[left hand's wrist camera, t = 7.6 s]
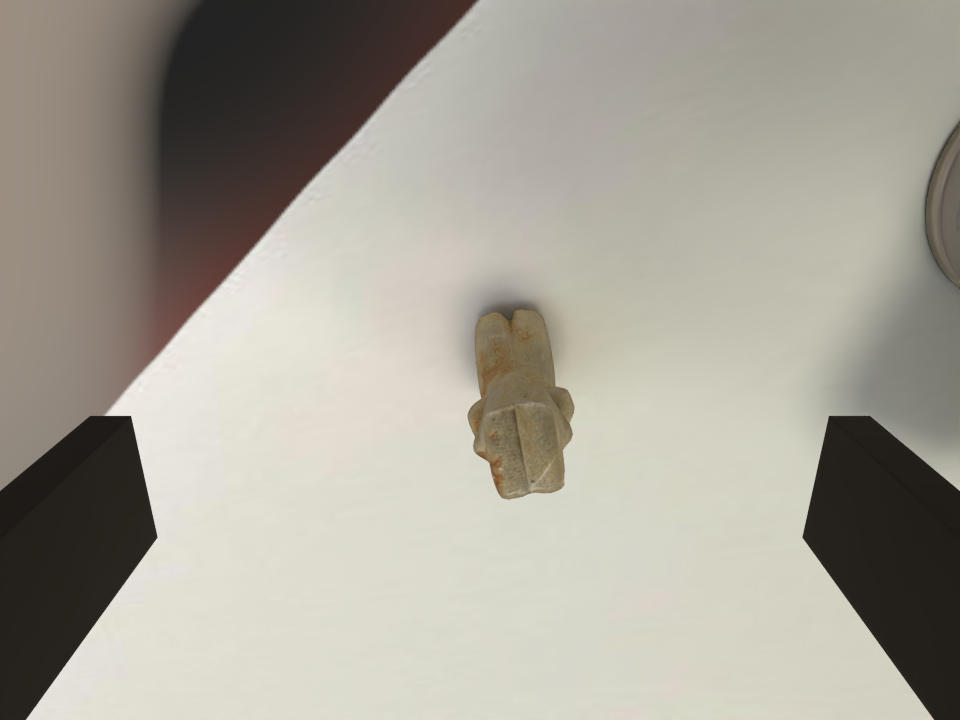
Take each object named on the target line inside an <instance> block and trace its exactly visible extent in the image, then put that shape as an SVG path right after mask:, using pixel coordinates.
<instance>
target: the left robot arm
mask: <svg viewBox="0 0 960 720" xmlns="http://www.w3.org/2000/svg"><path fill="white" fill-rule="evenodd" d="M926 227H927V235H928V239H929V244H930V247H931V250H932V253H933V255H934V257H935V259H936V261H937V263H938V265H939V266H940V268H941V269H942V271H943V272H944V274H945V275H946V276H947V277H948V278H949V279H950V280H951V281H952V282H953V283H954V284H955V285H956V286H957V287H959V288H960V125H959V126H958V127H957V129H956V130H955V132H954V133H953V135H952V136H951V138H950V139H949V141H948V143H947V145H946V146H945V148H944V150H943V152H942V154H941V156H940V158H939V160H938V163H937V165H936V168H935V170H934V173H933V176H932V180H931V183H930V187H929V192H928V197H927V205H926ZM156 539H157V533H156V528H155V524H154V519H153V515H152V510H151V505H150V501H149V496H148V492H147V487H146V483H145V478H144V473H143V469H142V464H141V460H140V455H139V451H138V446H137V441H136V437H135V432H134V428H133V423H132V419H131V416H90V417H88V418H87V419H86V420H85V421H84V422H82V423H81V424H80V425H79V426H78V427H77V428H75V429H74V430H73V431H72V432H70V433H69V434H68V435H67V436H66V437H65V438H63V439H62V440H61V441H60V442H59V443H57V444H56V445H55V446H54V447H53V448H51V449H50V450H49V451H48V452H47V453H45V454H44V455H43V456H42V457H41V458H39V459H38V460H37V461H36V462H35V463H33V464H32V465H31V466H30V467H29V468H27V469H26V470H25V471H24V472H23V473H21V474H20V475H19V476H18V477H17V478H15V479H14V480H13V481H12V482H11V483H9V484H8V485H7V486H6V487H5V488H3V489H2V490H1V491H0V720H26V719H27V717H28V716H29V715H30V713H31V712H32V710H33V709H34V708H35V706H36V705H37V704H38V702H39V701H40V699H41V698H42V697H43V695H44V694H45V692H46V691H47V690H48V688H49V687H50V686H51V684H52V683H53V681H54V680H55V679H56V677H57V676H58V674H59V673H60V672H61V670H62V669H63V668H64V666H65V665H66V663H67V662H68V661H69V659H70V658H71V656H72V655H73V654H74V652H75V651H76V650H77V648H78V647H79V645H80V644H81V643H82V641H83V640H84V638H85V637H86V636H87V634H88V633H89V632H90V630H91V629H92V627H93V626H94V625H95V623H96V622H97V620H98V619H99V618H100V616H101V615H102V614H103V612H104V611H105V609H106V608H107V607H108V605H109V604H110V602H111V601H112V600H113V598H114V597H115V596H116V594H117V593H118V591H119V590H120V589H121V587H122V586H123V584H124V583H125V582H126V580H127V579H128V578H129V576H130V575H131V573H132V572H133V571H134V569H135V568H136V567H137V565H138V564H139V562H140V561H141V560H142V558H143V557H144V555H145V554H146V553H147V551H148V550H149V549H150V547H151V546H152V544H153V543H154V542H155V540H156ZM803 539H804V540H805V542H806V543H807V544H808V546H809V547H810V549H811V550H812V551H813V553H814V554H815V555H816V557H817V558H818V560H819V561H820V562H821V564H822V565H823V567H824V568H825V569H826V571H827V572H828V573H829V575H830V576H831V578H832V579H833V580H834V582H835V583H836V584H837V586H838V587H839V589H840V590H841V591H842V593H843V594H844V596H845V597H846V598H847V600H848V601H849V602H850V604H851V605H852V607H853V608H854V609H855V611H856V612H857V614H858V615H859V616H860V618H861V619H862V620H863V622H864V623H865V625H866V626H867V627H868V629H869V630H870V632H871V633H872V634H873V636H874V637H875V638H876V640H877V641H878V643H879V644H880V645H881V647H882V648H883V650H884V651H885V652H886V654H887V655H888V656H889V658H890V659H891V661H892V662H893V663H894V665H895V666H896V668H897V669H898V670H899V672H900V673H901V674H902V676H903V677H904V679H905V680H906V681H907V683H908V684H909V686H910V687H911V688H912V690H913V691H914V692H915V694H916V695H917V697H918V698H919V699H920V701H921V702H922V704H923V705H924V706H925V708H926V709H927V710H928V712H929V713H930V715H931V716H932V717H933V719H934V720H960V491H959V490H958V489H957V488H955V487H954V486H953V485H952V484H951V483H949V482H948V481H947V480H946V479H945V478H943V477H942V476H941V475H940V474H939V473H937V472H936V471H935V470H934V469H933V468H931V467H930V466H929V465H928V464H927V463H925V462H924V461H923V460H922V459H921V458H919V457H918V456H917V455H916V454H915V453H913V452H912V451H911V450H910V449H909V448H907V447H906V446H905V445H904V444H903V443H901V442H900V441H899V440H898V439H897V438H896V437H894V436H893V435H892V434H891V433H890V432H888V431H887V430H886V429H885V428H884V427H882V426H881V425H880V424H879V423H878V422H876V421H875V420H874V419H873V418H872V417H870V416H829V419H828V423H827V428H826V432H825V437H824V441H823V446H822V451H821V455H820V460H819V464H818V469H817V473H816V478H815V483H814V487H813V492H812V496H811V501H810V505H809V510H808V515H807V519H806V524H805V528H804V533H803Z"/></svg>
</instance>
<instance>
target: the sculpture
mask: <svg viewBox="0 0 960 720" xmlns="http://www.w3.org/2000/svg"><path fill="white" fill-rule="evenodd" d="M475 350H476V364H477V375H478V381H479V388H480V394H481V398H482V399H480V400H479V401H477V402H476V403H475V404H474V405H473V406H472V407H471V408H470V410H469V412H468V420H469V424H470V427H471V429H472V432H473V433H474V435H475V439H474V445H473V447H474V451H475V453H476V454H477V455H479V456H480V457H482V458H484V459H485V460H487V461H488V462H489V463H490V467H491V473H492V477H493V480H494V483H495V486H496V489H497V491H498V493H499V495H500V496H501V497H502V498H504V499H514V498H519V497H523V496H525V495H527V494H530V493H552V492H555V491H558V490H559V489H561V488H562V487H563V486H564V472H565V468H564V458H563V449H564V447H565V446H566V445H567V444H568V443H569V441H570V440H571V438H572V435H573V434H572V429H571V426H570V424H569V422H570V421H571V418H572V416H573V414H574V404H573V401H572V398H571V396H570V394H569V392H568V390H566V389H564V388H560V387H555V374H554V365H553V358H552V352H551V347H550V342H549V338H548V333H547V330H546V326H545V322H544V319H543V317H542V315H541V314H540V313H538V312H536V311H530V310H521V309H520V310H516V311H515V312H514V313H513V317H512V319H511V320H508V319H506V318H505V317H504V316H503V315H501V314H500V313H496V312H492V313H489V314H487V315H485V316H483V317H481V318H480V319H479V321H478V322H477V325H476V332H475Z"/></svg>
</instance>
